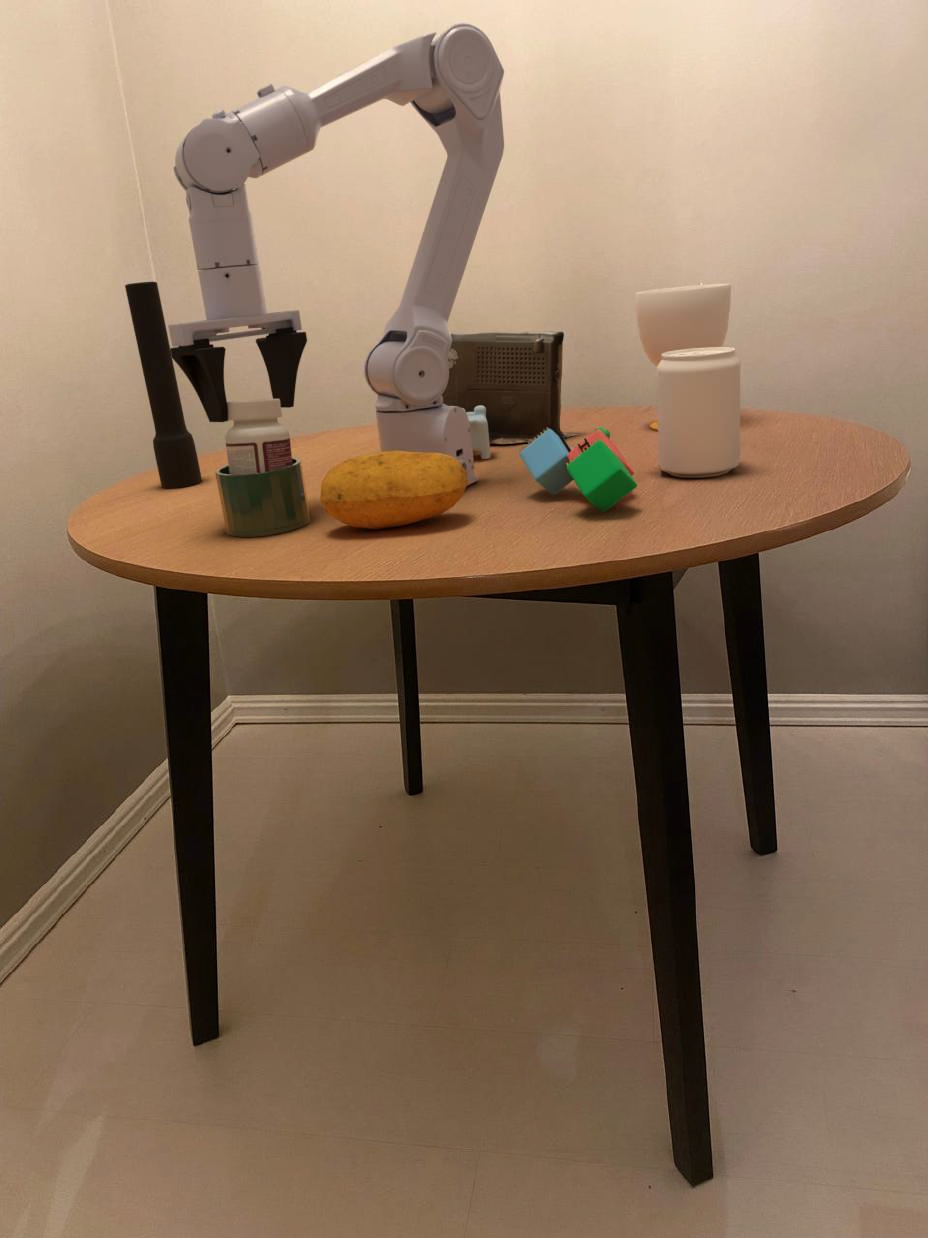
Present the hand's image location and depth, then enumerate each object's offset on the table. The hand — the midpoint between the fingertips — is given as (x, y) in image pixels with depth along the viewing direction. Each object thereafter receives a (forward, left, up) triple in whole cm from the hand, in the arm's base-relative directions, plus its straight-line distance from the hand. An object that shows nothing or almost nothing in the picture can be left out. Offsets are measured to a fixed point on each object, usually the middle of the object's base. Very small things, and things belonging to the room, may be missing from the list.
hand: (253, 414), depth 93 cm
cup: (-29, -50, -11) cm, 59 cm away
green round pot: (-2, +3, -11) cm, 11 cm away
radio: (-5, -41, -11) cm, 42 cm away
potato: (-16, +1, -11) cm, 19 cm away
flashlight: (+25, -13, -11) cm, 30 cm away
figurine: (-8, -30, -11) cm, 33 cm away
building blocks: (-30, -9, -11) cm, 33 cm away
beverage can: (-38, -23, -11) cm, 46 cm away
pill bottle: (-2, +3, -10) cm, 10 cm away
